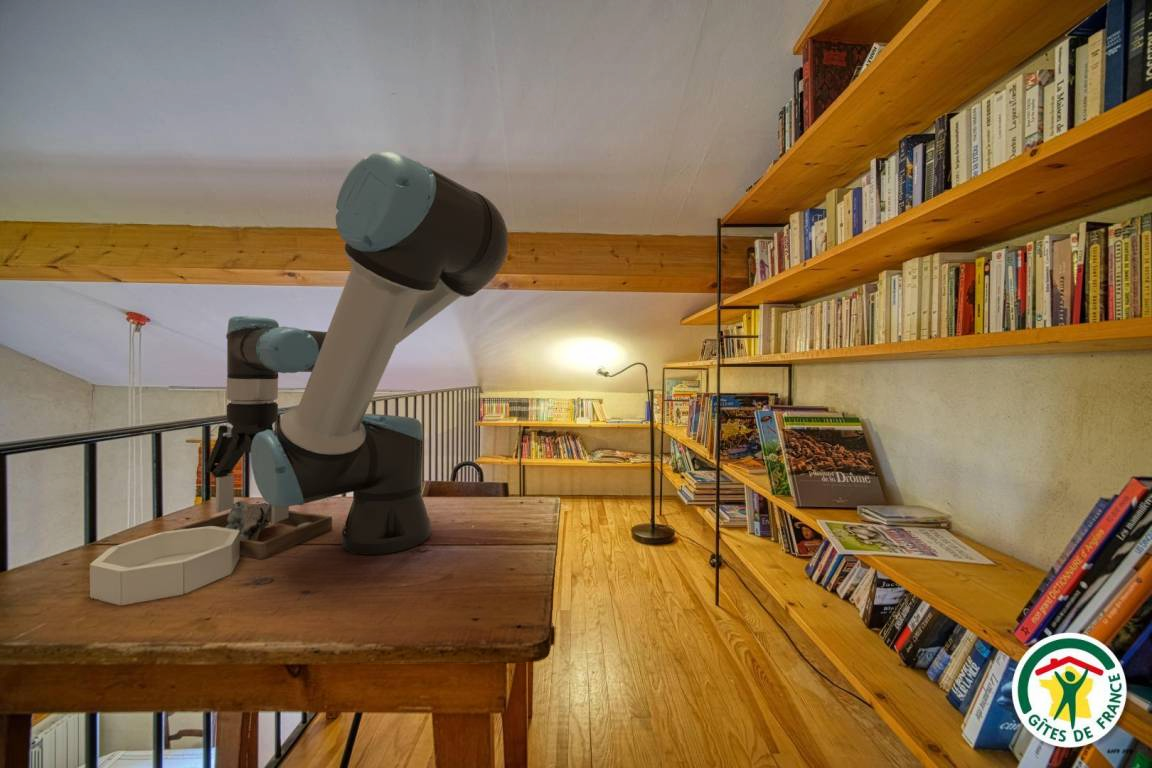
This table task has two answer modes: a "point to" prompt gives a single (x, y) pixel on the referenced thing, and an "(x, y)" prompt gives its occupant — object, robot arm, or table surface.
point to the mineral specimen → (249, 519)
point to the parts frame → (280, 542)
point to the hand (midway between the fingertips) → (251, 515)
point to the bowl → (164, 564)
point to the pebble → (303, 524)
